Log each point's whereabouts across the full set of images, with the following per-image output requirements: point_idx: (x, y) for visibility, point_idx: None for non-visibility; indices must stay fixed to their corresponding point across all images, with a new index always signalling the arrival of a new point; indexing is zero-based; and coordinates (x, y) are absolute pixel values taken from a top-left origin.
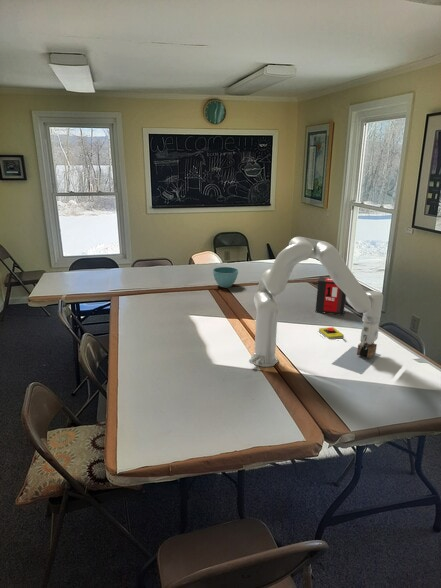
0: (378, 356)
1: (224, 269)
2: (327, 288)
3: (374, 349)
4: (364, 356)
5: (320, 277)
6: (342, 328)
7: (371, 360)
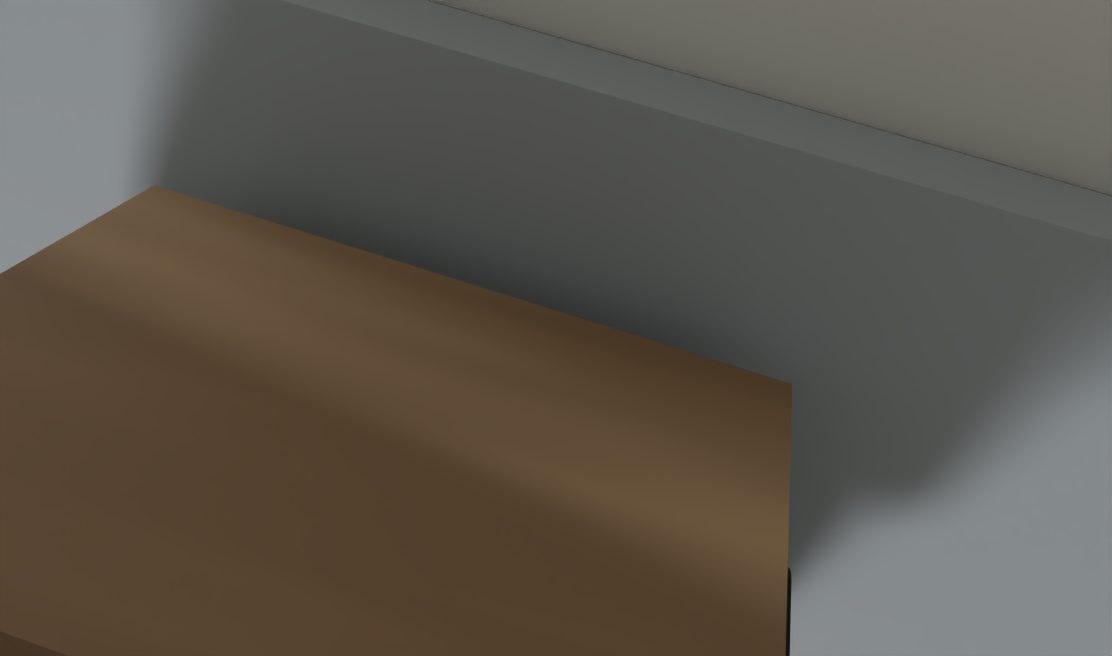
0: (180, 12)
1: None
2: None
3: (202, 450)
4: None
5: None
6: None
7: (757, 286)
